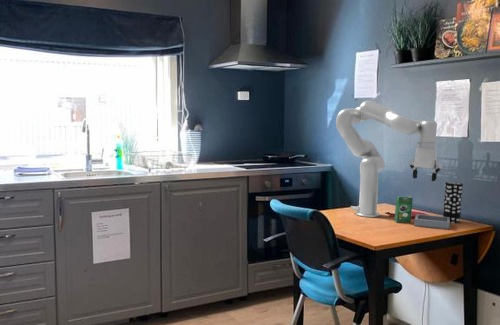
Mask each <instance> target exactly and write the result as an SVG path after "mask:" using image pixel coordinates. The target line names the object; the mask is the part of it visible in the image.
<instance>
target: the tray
mask: <svg viewBox="0 0 500 325" xmlns="http://www.w3.org/2000/svg"><path fill="white" fill-rule="evenodd" d="M450 224H451V223H450V217H443V216H442V215H441V216H439V215H432V214H431V215H429V214H421V213H420V214H419V213H417V214H415V217H414V224H413V226H414V227H419V228H429V229H438V230H448V231H449V230H450Z"/></svg>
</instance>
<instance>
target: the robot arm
mask: <svg viewBox="0 0 500 325" xmlns="http://www.w3.org/2000/svg"><path fill="white" fill-rule="evenodd" d="M370 119H371V120H373V121H376V122H377V123H381V124H382V125H385V126H387V127H389V128H392V129H393V130H396V131H398V132H400V133H403V134H406V135H408V136H409V135H410V136H411V135H412V136H413V135H419V141H418V142H416V145H417V146H418V147H417V148H416V150H415V154H414V155H415V156H414V159H411V160H409V161H408V164H409V167H410V168H411V170H412V179H417V178H418V169H419V168H420V169H426V170H431V171H432V173H431V182H435V181H436V180H437V176H438V175H437V173H439V172H440V171H441V170H442V168H443V167H444V164H442V163H440V162H439V161H438V159H437V157H438V156H437V148H436V141H437V139H436V138H437V130H438V129H437V128H438V124H437V122H436V121H433V120H419V119H411V118H407V117H405V116H402V115H400V114H399V113H396V112H395V111H394V109H392V108H389V107H387V106H385V105H382V104H380V103H379V102H378V101H375V100H364V101H363V102H362V103H361V104H360V105H359V106H357V107H355V108H351V107H350V108H344V109H342V110H340V111H339V112H338V114H337V115H336V119H335V126H336V130H337V132H338V133H339V135H340V136H341V137H342V140H343V141H344V142H345V144H346V145H347V147H348V150H350V152H351V154H352V155H353V156H354V157H356V158H361V161H360V164H359V199H358V200H359V201H358V205H357V206H355V205H350V210H352V211H355V215H357V216H359V217H365V218H376V217H377V218H378V217H379V216H380V215H381V213H379V212H378V198H379V195H378V194H379V173H381V172H382V171H383V170H384V169H385V160H384V158H383V157H382V155H381V153H380V152H379V151H378V149H377V148H376V146H375V145H374V144H373V142H372V141H370V140H368V139H364V138H363V137H362V136H361V135H360V134H359V132H358V130H357V129H356V128H355V127H354V126H353V125H357V124H360V123H363V122H364V121H367V120H370ZM437 167H438V168H437Z"/></svg>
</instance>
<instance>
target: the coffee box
mask: <svg viewBox="0 0 500 325" xmlns="http://www.w3.org/2000/svg"><path fill="white" fill-rule="evenodd" d="M413 198H414V197H412V196H396V199H395V200H396V201H395V210H394V222H395V223H412V212H413V201H414V200H413Z"/></svg>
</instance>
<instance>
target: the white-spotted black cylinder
mask: <svg viewBox="0 0 500 325" xmlns="http://www.w3.org/2000/svg"><path fill="white" fill-rule="evenodd" d="M463 188H464V187H463V183H461V182H453V181H445V185H444V199H443V213H442V217H450V224H459V223H461V215H462V214H461V213H462V212H461V211H462V202H463V200H462V199H463Z"/></svg>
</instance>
